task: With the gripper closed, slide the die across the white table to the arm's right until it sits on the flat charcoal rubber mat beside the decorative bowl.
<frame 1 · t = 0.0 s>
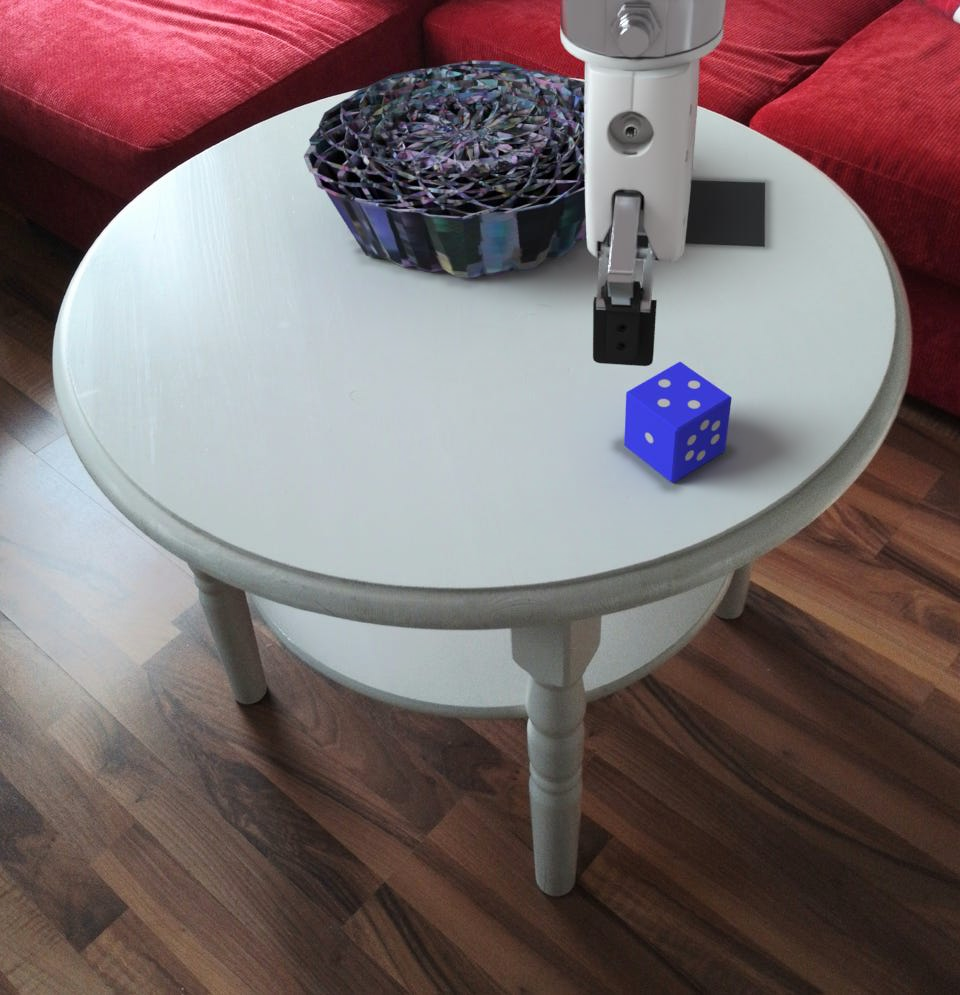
hand: (630, 306, 63), 15 cm above the table, tool pointing down, fingers open, 9 cm apart
die: (673, 450, 76), on the table
pad: (705, 211, 96), on the table
decorative bowl: (477, 216, 98), on the table
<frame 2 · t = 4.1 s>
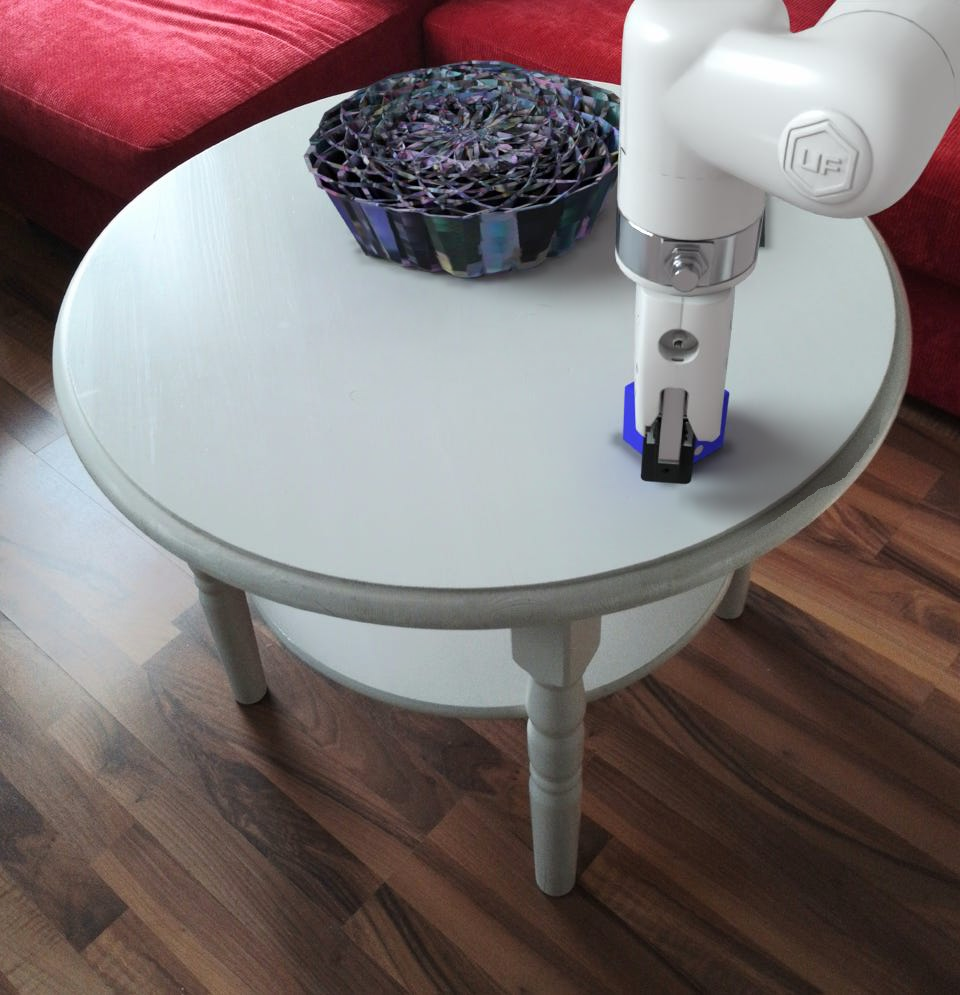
hand: (666, 473, 71), 2 cm above the table, tool pointing down, fingers closed
die: (672, 445, 77), on the table, touching gripper
everything else where it was.
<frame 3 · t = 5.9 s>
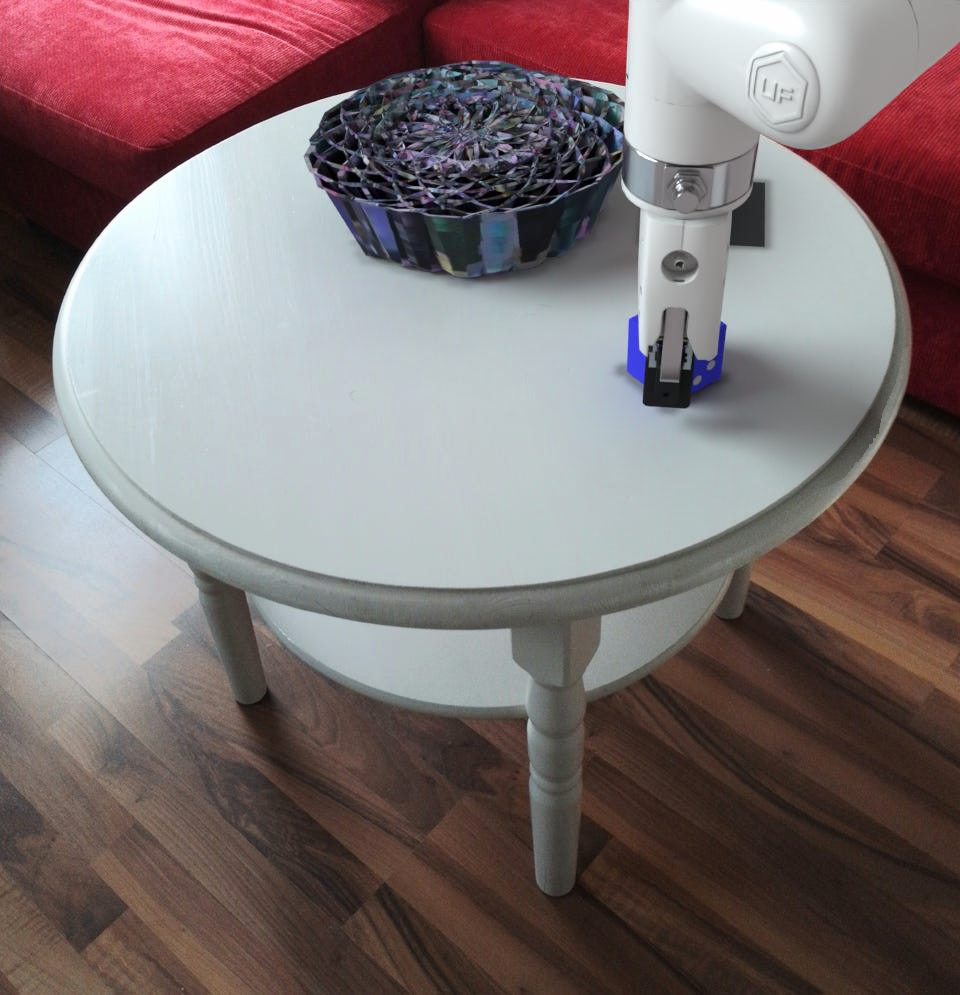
hand: (666, 399, 76), 2 cm above the table, tool pointing down, fingers closed
die: (673, 377, 82), on the table, touching gripper
everything else where it was.
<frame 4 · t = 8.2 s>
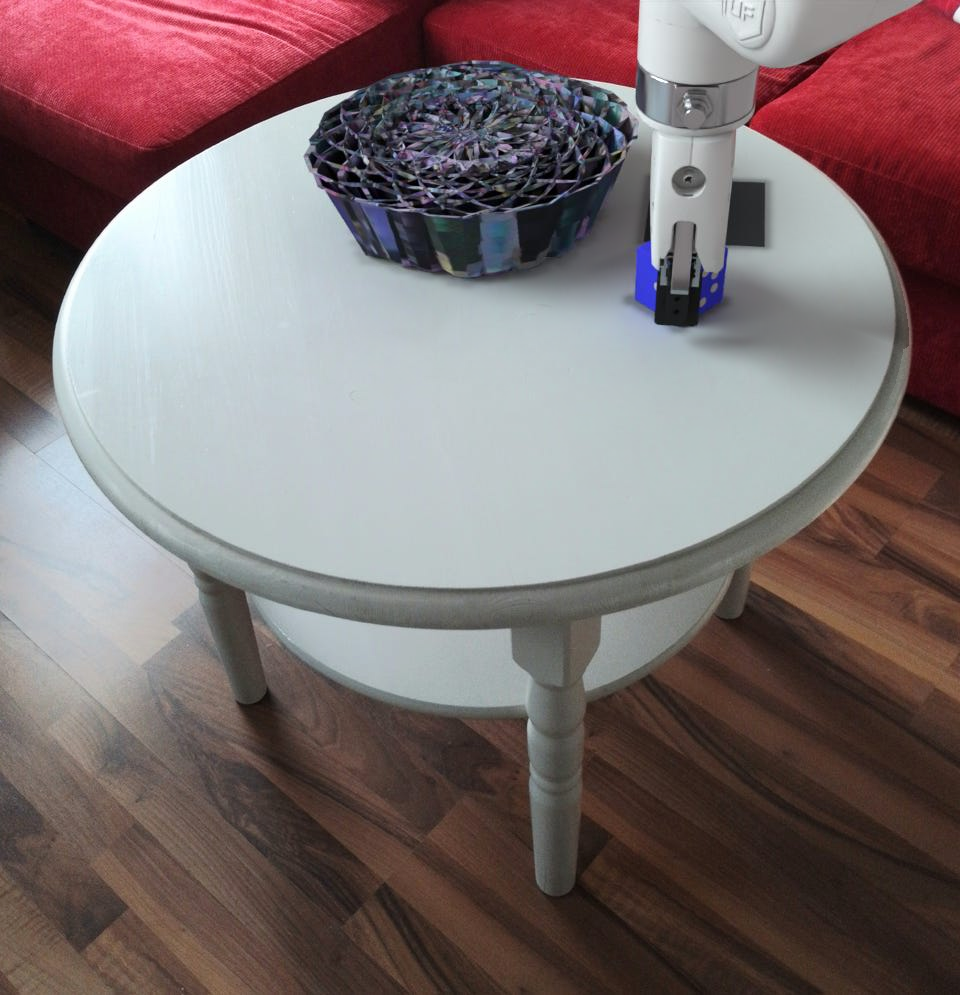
hand: (676, 318, 82), 2 cm above the table, tool pointing down, fingers closed
die: (678, 302, 88), on the table, touching gripper
everything else where it was.
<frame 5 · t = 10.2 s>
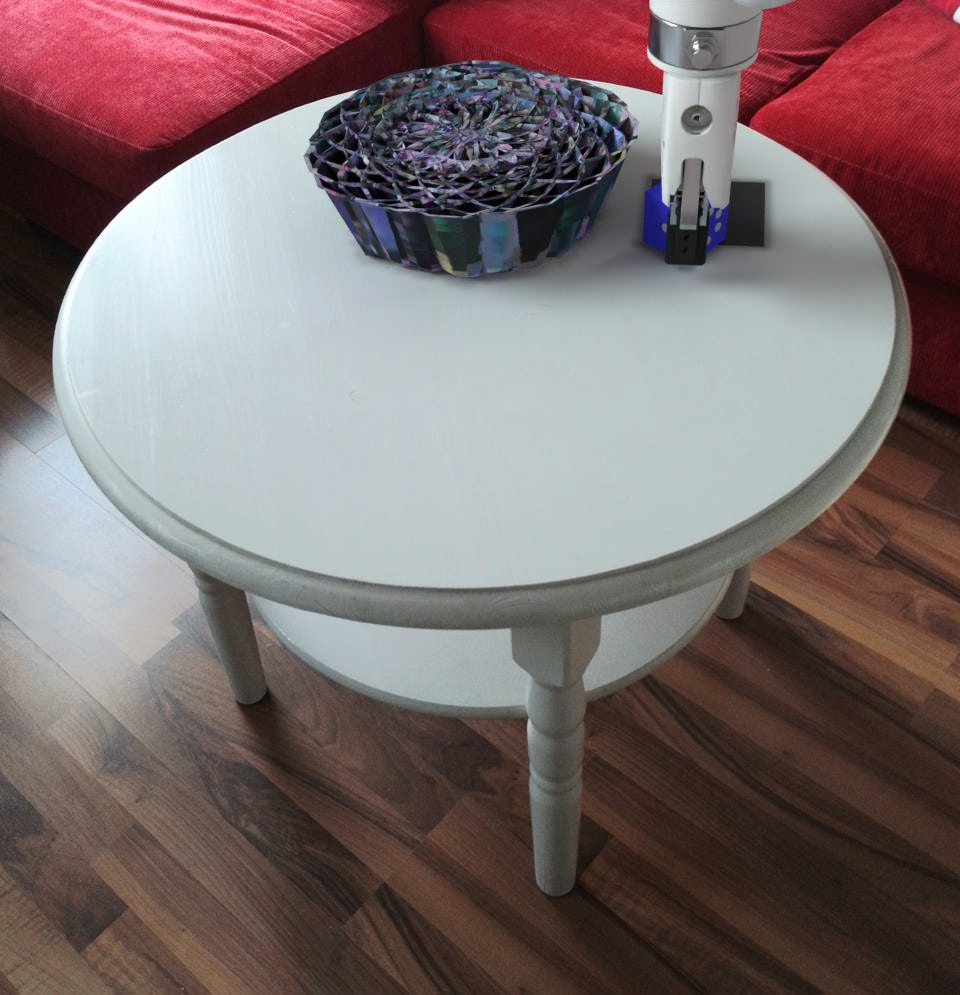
hand: (684, 258, 88), 2 cm above the table, tool pointing down, fingers closed
die: (683, 243, 93), on the table, touching gripper
everything else where it was.
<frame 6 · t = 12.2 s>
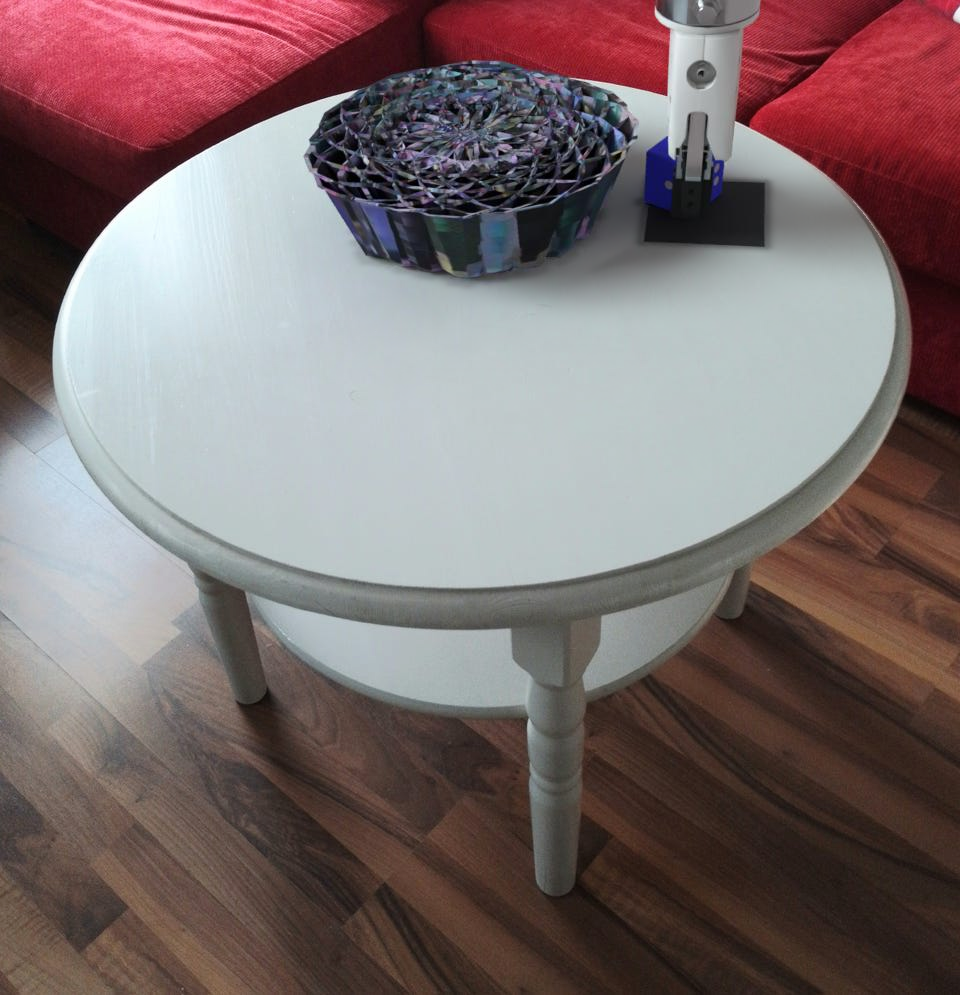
hand: (689, 213, 92), 2 cm above the table, tool pointing down, fingers closed
die: (682, 200, 98), on the table, touching gripper, pad
everything else where it was.
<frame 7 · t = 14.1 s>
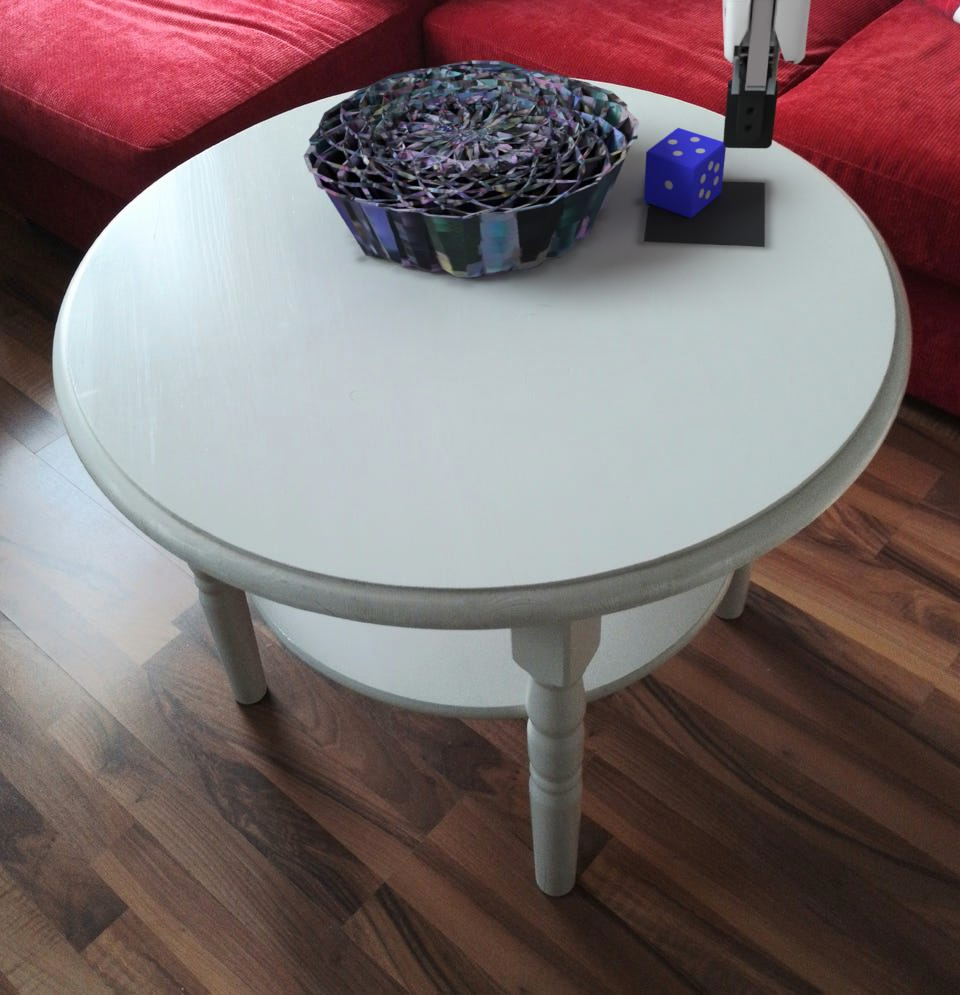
hand: (747, 141, 75), 15 cm above the table, tool pointing down, fingers closed
die: (682, 200, 98), on the table, touching pad
everything else where it was.
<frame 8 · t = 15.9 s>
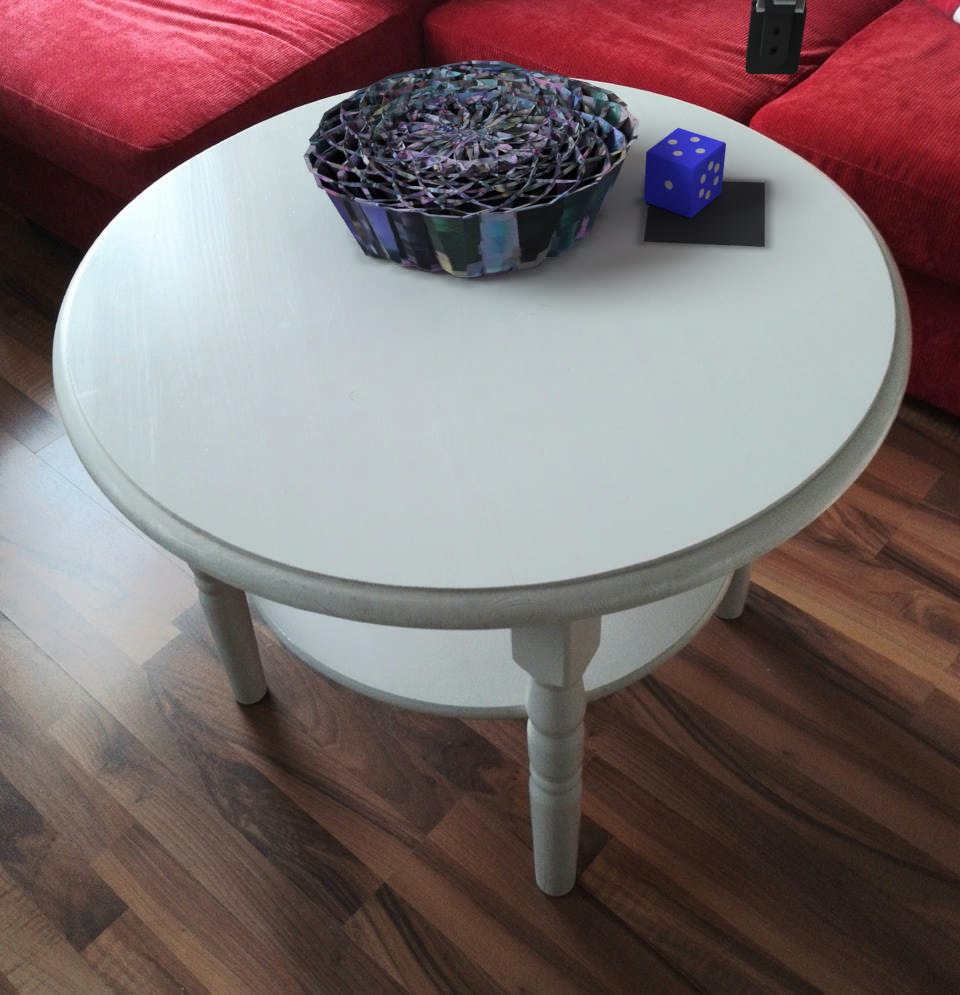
hand: (771, 67, 69), 21 cm above the table, tool pointing down, fingers closed
nothing on the table moved.
at the end: die inside the target area on the pad (2.8 cm from its centre), point 0.0 cm above the pad's base; die moved 31.9 cm from its start; die tilted 0° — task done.
